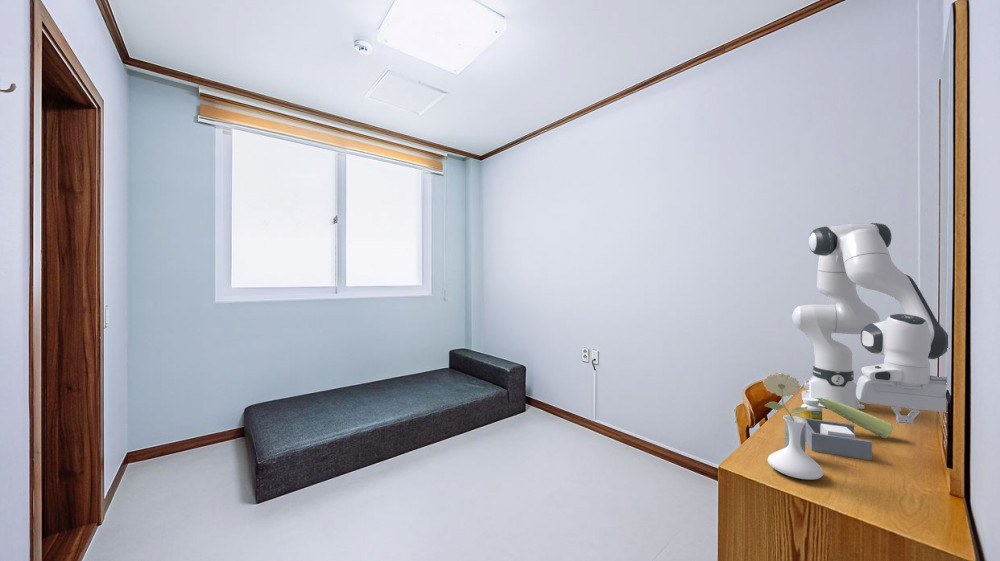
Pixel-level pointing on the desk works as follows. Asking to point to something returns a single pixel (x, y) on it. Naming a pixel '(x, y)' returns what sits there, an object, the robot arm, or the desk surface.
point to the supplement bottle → (812, 409)
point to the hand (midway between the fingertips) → (904, 422)
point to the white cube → (836, 431)
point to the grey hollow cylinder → (802, 438)
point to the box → (836, 441)
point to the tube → (858, 417)
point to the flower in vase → (791, 432)
